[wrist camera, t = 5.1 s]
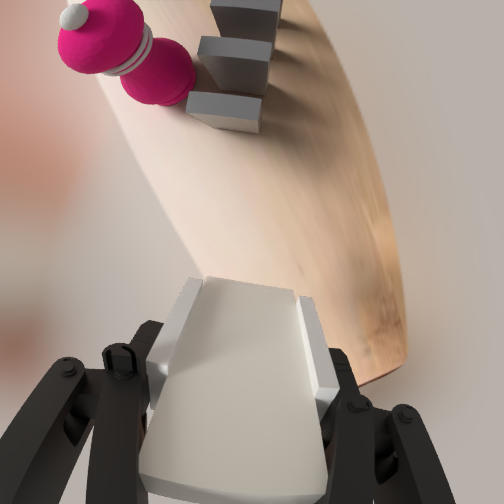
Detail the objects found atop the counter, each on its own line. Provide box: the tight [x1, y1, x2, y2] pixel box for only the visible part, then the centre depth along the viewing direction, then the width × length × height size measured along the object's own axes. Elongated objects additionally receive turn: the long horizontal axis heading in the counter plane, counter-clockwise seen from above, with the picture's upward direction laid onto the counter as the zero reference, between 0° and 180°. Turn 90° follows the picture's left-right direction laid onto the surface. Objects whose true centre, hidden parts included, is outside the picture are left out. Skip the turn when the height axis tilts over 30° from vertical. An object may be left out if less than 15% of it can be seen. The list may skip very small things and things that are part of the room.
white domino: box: [139, 276, 328, 504], centre depth 11 cm, size 2×5×12 cm, turn 80°
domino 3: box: [185, 91, 262, 134], centre depth 23 cm, size 2×5×12 cm, turn 81°
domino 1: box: [210, 0, 281, 60], centre depth 20 cm, size 2×5×12 cm, turn 80°
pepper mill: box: [58, 0, 196, 106], centre depth 17 cm, size 7×7×20 cm
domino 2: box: [197, 36, 272, 96], centre depth 21 cm, size 2×5×12 cm, turn 80°
